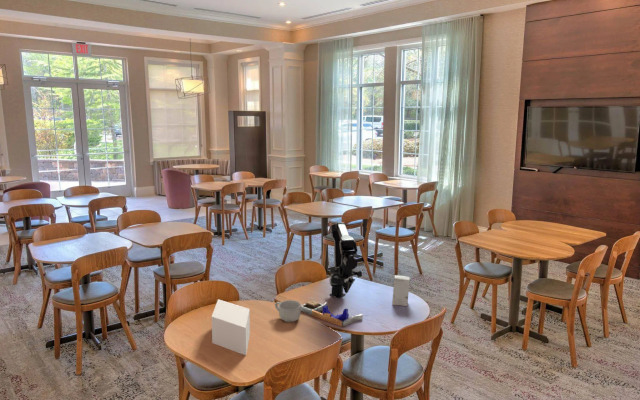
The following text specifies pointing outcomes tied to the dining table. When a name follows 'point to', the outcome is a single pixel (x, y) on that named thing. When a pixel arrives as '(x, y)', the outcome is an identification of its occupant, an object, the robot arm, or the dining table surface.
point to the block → (231, 326)
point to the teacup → (289, 310)
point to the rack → (315, 308)
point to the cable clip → (339, 317)
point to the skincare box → (400, 290)
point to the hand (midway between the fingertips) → (346, 292)
